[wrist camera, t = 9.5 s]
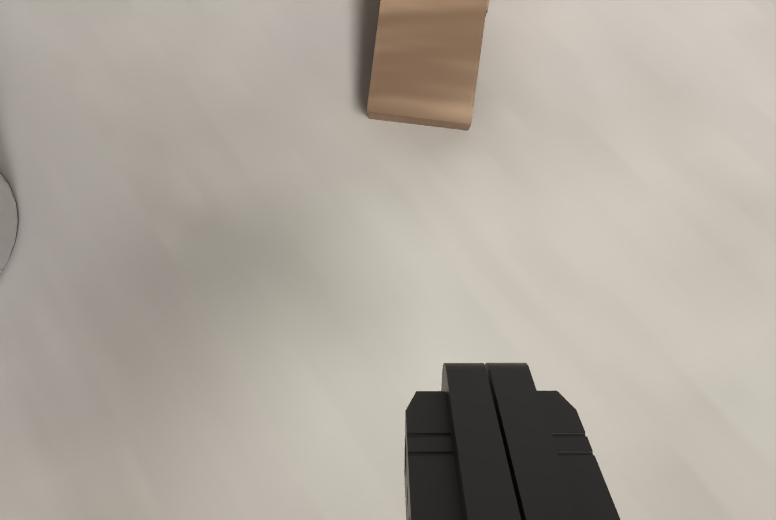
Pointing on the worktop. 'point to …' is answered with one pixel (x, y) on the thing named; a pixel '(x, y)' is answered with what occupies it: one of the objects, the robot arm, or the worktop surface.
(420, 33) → the domino
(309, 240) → the worktop surface
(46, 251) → the worktop surface
